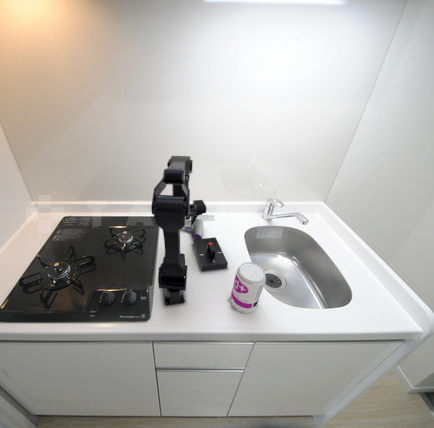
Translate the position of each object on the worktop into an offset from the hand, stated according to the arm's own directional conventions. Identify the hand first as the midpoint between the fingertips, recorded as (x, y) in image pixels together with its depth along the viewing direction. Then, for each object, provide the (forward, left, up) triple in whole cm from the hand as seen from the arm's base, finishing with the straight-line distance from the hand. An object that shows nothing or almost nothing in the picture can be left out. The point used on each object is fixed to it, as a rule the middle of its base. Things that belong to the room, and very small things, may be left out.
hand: (180, 226), depth 82 cm
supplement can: (-28, -16, -12) cm, 34 cm away
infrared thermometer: (+10, -5, -12) cm, 17 cm away
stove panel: (-6, -11, -12) cm, 17 cm away
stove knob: (-8, -11, -9) cm, 16 cm away
